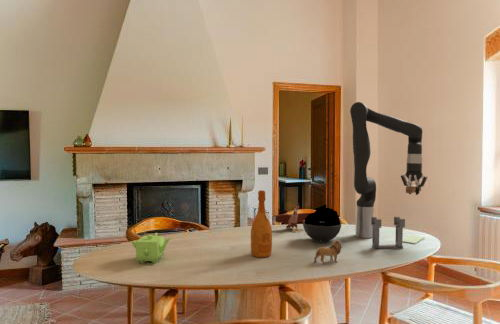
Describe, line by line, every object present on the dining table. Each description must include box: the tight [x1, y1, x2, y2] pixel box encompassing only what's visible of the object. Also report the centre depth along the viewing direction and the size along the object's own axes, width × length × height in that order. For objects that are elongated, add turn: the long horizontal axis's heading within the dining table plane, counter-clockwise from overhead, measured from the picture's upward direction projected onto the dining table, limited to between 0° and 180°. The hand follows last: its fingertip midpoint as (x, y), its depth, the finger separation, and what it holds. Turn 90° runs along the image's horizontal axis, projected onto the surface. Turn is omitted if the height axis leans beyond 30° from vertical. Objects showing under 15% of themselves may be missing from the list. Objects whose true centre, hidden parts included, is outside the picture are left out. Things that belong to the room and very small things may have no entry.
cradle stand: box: [371, 216, 406, 250], centre depth 184 cm, size 15×6×15 cm, turn 95°
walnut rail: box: [405, 184, 422, 194], centre depth 199 cm, size 15×3×3 cm, turn 138°
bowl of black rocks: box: [302, 204, 342, 243], centre depth 197 cm, size 20×20×19 cm
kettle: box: [130, 232, 173, 264], centre depth 162 cm, size 15×14×11 cm
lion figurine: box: [313, 239, 343, 265], centre depth 161 cm, size 15×5×9 cm, turn 118°
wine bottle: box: [250, 189, 273, 258], centre depth 171 cm, size 10×10×30 cm
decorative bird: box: [271, 203, 311, 233], centre depth 221 cm, size 28×18×15 cm, turn 111°
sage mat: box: [402, 234, 425, 245], centre depth 201 cm, size 17×8×1 cm, turn 140°
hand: (413, 194), depth 199 cm, fingers closed on walnut rail, 3 cm apart
